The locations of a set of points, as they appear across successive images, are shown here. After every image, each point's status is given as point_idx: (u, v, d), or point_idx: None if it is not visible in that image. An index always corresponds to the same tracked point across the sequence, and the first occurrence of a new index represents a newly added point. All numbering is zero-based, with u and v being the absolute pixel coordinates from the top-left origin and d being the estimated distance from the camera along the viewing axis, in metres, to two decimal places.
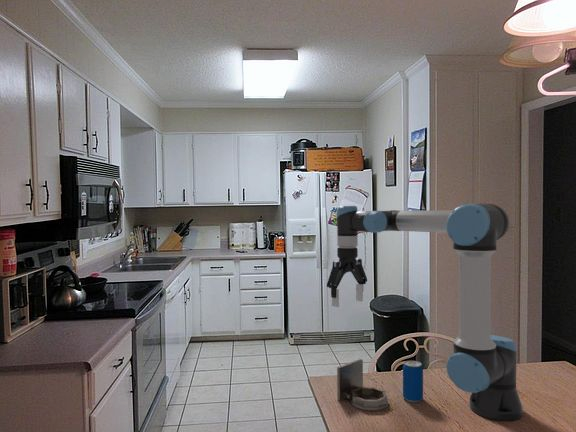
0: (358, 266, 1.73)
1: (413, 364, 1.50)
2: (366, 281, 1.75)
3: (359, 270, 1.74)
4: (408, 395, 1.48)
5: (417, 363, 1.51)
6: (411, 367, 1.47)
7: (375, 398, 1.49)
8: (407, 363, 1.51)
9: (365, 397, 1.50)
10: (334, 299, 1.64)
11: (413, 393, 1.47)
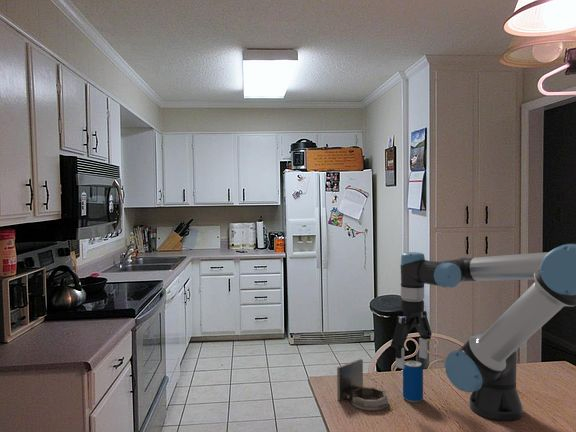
0: (422, 319, 1.54)
1: (413, 364, 1.50)
2: (430, 335, 1.56)
3: (423, 323, 1.55)
4: (408, 395, 1.48)
5: (417, 363, 1.51)
6: (411, 367, 1.47)
7: (375, 398, 1.49)
8: (407, 363, 1.51)
9: (365, 397, 1.50)
10: (399, 359, 1.46)
11: (413, 393, 1.47)
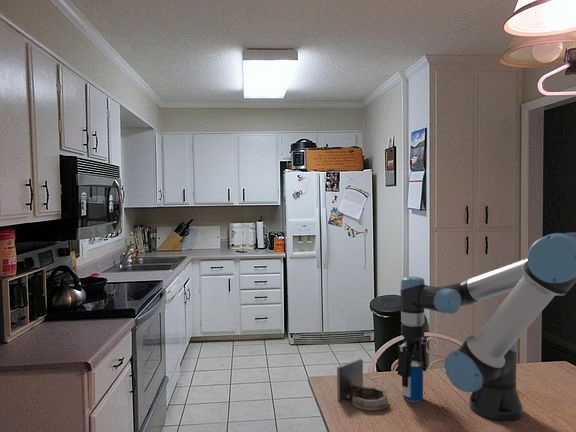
0: (421, 347, 1.53)
1: (413, 364, 1.50)
2: None
3: (421, 352, 1.53)
4: None
5: (417, 363, 1.51)
6: (411, 367, 1.47)
7: (375, 398, 1.49)
8: None
9: (365, 397, 1.50)
10: (405, 388, 1.48)
11: (412, 393, 1.47)
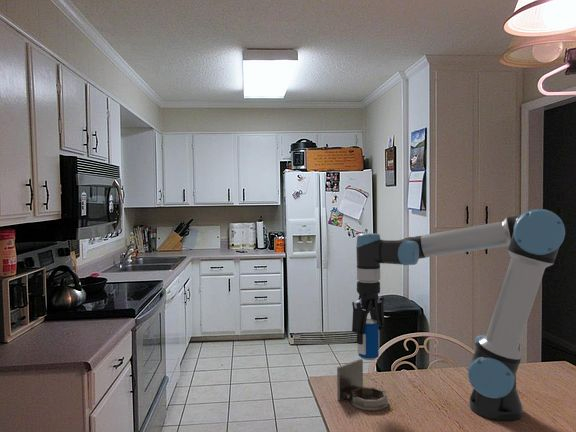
0: (378, 305, 1.50)
1: (368, 322, 1.47)
2: None
3: (378, 310, 1.51)
4: None
5: (373, 321, 1.48)
6: (366, 324, 1.45)
7: (375, 398, 1.49)
8: None
9: (365, 397, 1.50)
10: (360, 345, 1.45)
11: (367, 350, 1.44)
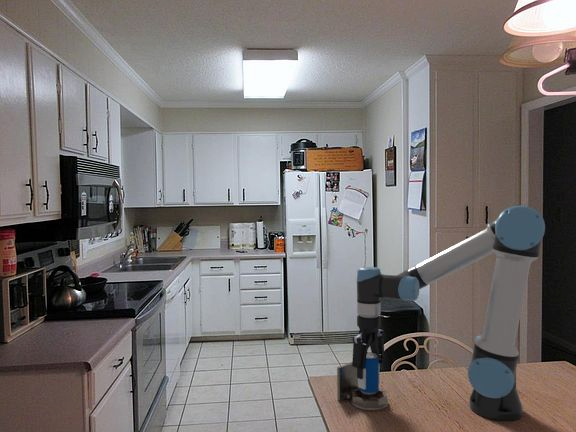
0: (378, 338, 1.51)
1: (369, 356, 1.47)
2: (383, 359, 1.51)
3: (378, 343, 1.51)
4: None
5: (373, 355, 1.48)
6: (366, 358, 1.45)
7: (375, 398, 1.49)
8: None
9: (365, 397, 1.50)
10: (360, 380, 1.45)
11: (367, 385, 1.45)
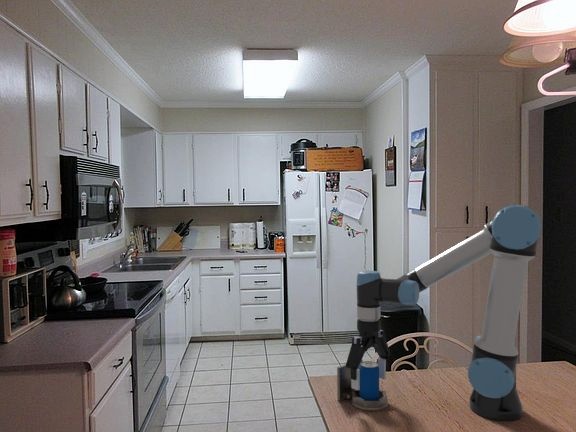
0: (380, 339, 1.51)
1: (369, 365, 1.47)
2: (389, 355, 1.53)
3: (381, 343, 1.52)
4: (364, 396, 1.45)
5: (374, 364, 1.48)
6: (367, 368, 1.45)
7: None
8: (363, 363, 1.48)
9: None
10: (354, 381, 1.43)
11: (368, 394, 1.44)
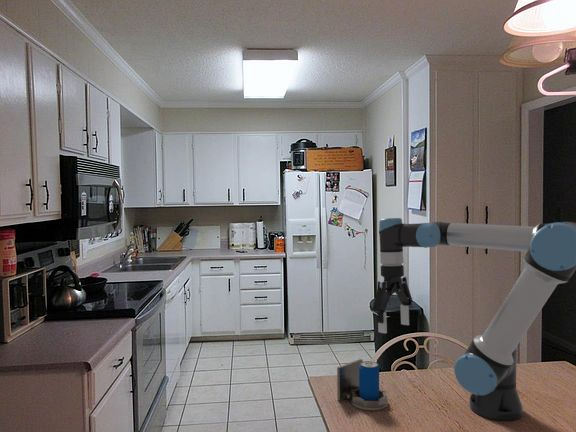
0: (403, 285, 1.54)
1: (369, 365, 1.47)
2: (411, 302, 1.56)
3: (404, 290, 1.55)
4: (364, 396, 1.45)
5: (374, 364, 1.48)
6: (367, 368, 1.45)
7: None
8: (363, 363, 1.48)
9: None
10: (381, 324, 1.45)
11: (368, 394, 1.45)
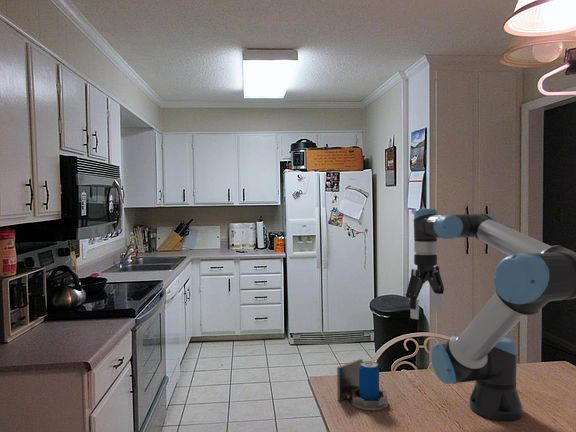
0: (435, 274, 1.59)
1: (369, 365, 1.47)
2: (443, 290, 1.60)
3: (436, 278, 1.59)
4: (364, 396, 1.45)
5: (374, 364, 1.48)
6: (367, 368, 1.45)
7: None
8: (363, 363, 1.48)
9: None
10: (413, 311, 1.50)
11: (368, 394, 1.44)
